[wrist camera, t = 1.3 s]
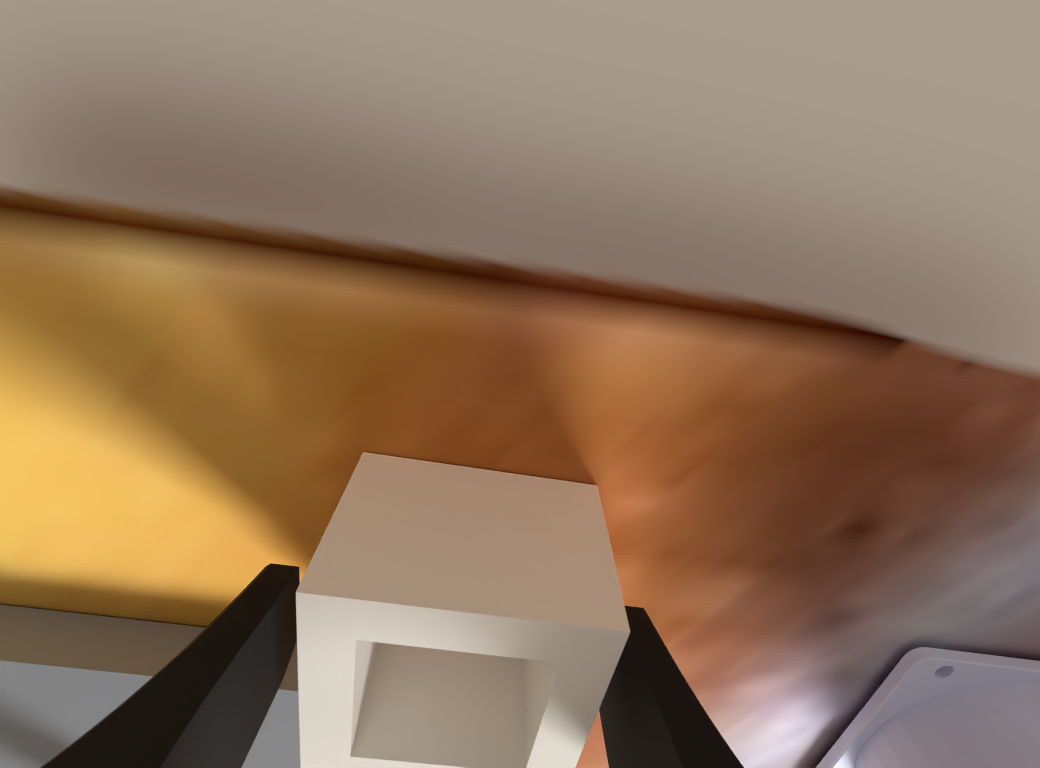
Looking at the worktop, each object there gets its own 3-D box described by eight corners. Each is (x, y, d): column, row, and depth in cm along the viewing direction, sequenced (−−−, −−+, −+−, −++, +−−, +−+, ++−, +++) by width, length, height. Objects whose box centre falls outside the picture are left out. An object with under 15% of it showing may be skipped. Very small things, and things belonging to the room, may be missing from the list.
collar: (597, 484, 12) (630, 632, 9) (550, 638, 15) (561, 801, 11) (363, 451, 12) (295, 592, 8) (355, 615, 14) (300, 778, 11)
